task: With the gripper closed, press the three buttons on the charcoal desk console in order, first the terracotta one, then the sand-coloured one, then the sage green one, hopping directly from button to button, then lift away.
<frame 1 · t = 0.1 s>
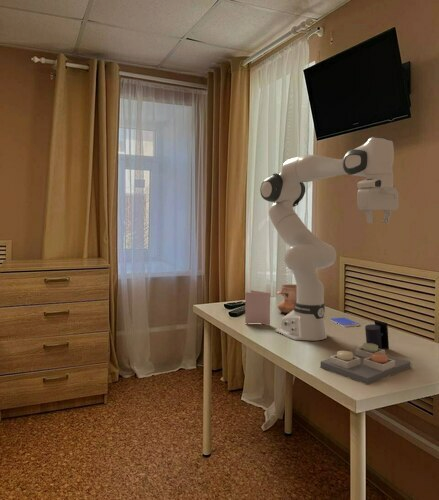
hand: (378, 223, 149), 48 cm above the table, tool pointing down, fingers open, 8 cm apart
terracotta button: (379, 358, 137), point 5 cm above the table, slide at 0.0 cm
greeting card: (256, 324, 197), on the table
sand button: (345, 356, 139), point 5 cm above the table, slide at 0.0 cm
sage button: (370, 348, 147), point 5 cm above the table, slide at 0.0 cm
ceramic jug: (293, 313, 220), on the table
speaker: (375, 348, 162), on the table
button console: (365, 367, 141), on the table
hard drive: (344, 324, 200), on the table
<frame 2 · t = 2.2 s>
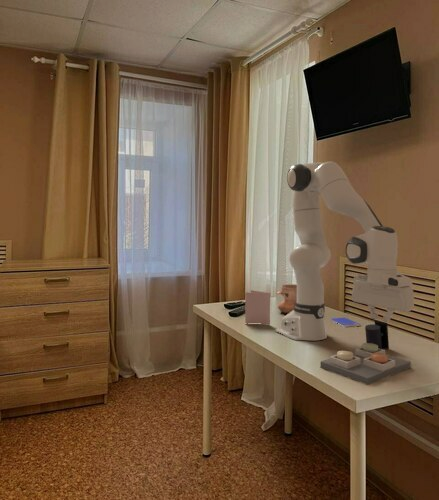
hand: (380, 320, 136), 17 cm above the table, tool pointing down, fingers open, 3 cm apart
nothing on the table moved.
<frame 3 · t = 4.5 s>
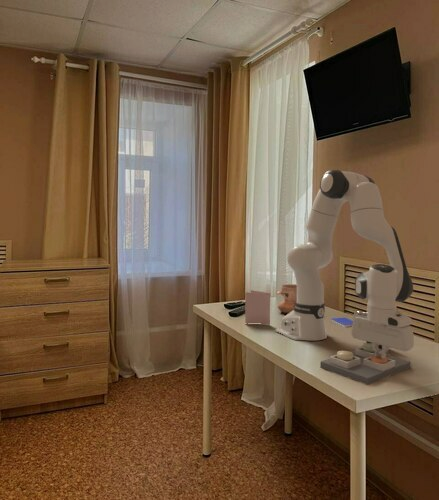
hand: (380, 357, 137), 5 cm above the table, tool pointing down, fingers closed, pressing on terracotta button
terracotta button: (379, 360, 137), point 4 cm above the table, slide at 0.8 cm, touching gripper
everything else where it was.
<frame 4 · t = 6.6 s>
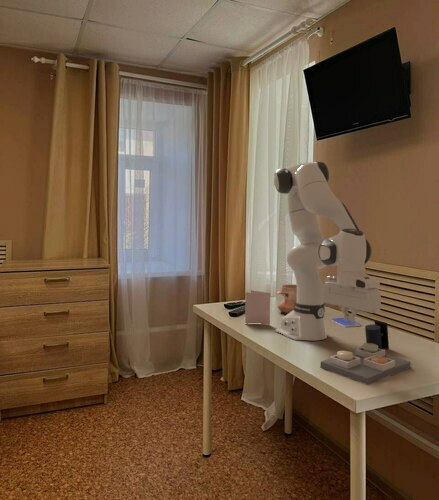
hand: (349, 321, 138), 16 cm above the table, tool pointing down, fingers closed
terracotta button: (379, 361, 137), point 3 cm above the table, slide at 1.2 cm
everything else where it was.
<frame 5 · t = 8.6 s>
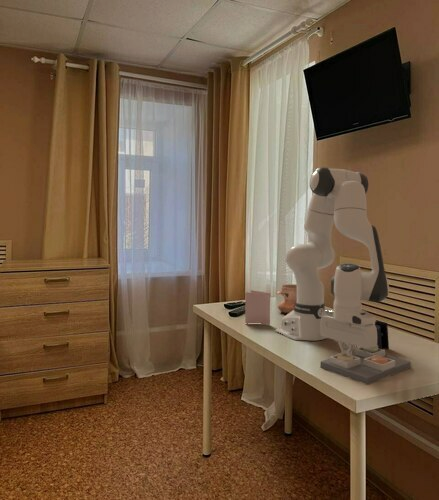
hand: (346, 355, 139), 5 cm above the table, tool pointing down, fingers closed, pressing on sand button
sand button: (345, 358, 139), point 4 cm above the table, slide at 0.9 cm, touching gripper
everything else where it was.
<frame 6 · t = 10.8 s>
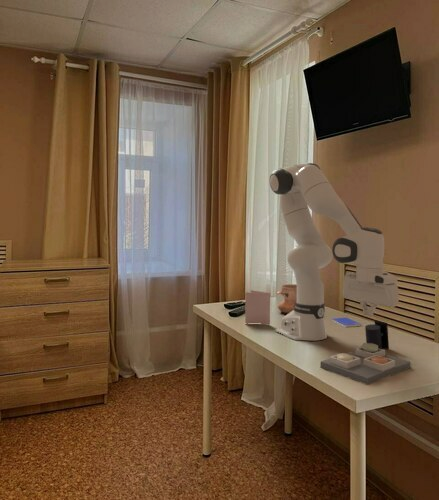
hand: (368, 315, 146), 16 cm above the table, tool pointing down, fingers closed
sand button: (345, 359, 139), point 3 cm above the table, slide at 1.2 cm
everything else where it was.
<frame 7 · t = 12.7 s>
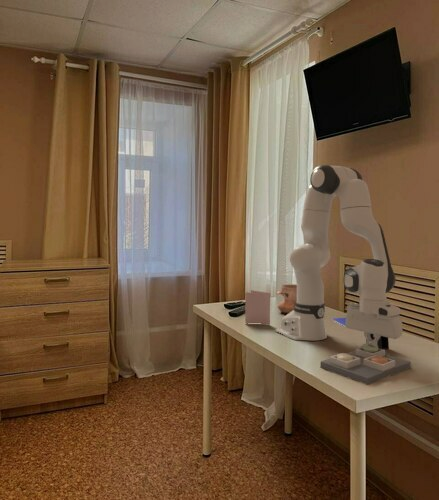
hand: (372, 345, 147), 5 cm above the table, tool pointing down, fingers closed
sage button: (370, 348, 147), point 4 cm above the table, slide at 0.2 cm, touching gripper
everything else where it was.
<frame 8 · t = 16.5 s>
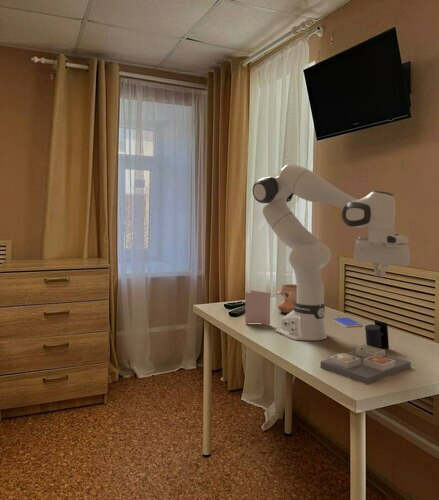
hand: (380, 276, 150), 29 cm above the table, tool pointing down, fingers closed
sage button: (370, 351, 148), point 3 cm above the table, slide at 1.2 cm
at the end: terracotta button slide at 1.2 cm; sand button slide at 1.2 cm; sage button slide at 1.2 cm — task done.
